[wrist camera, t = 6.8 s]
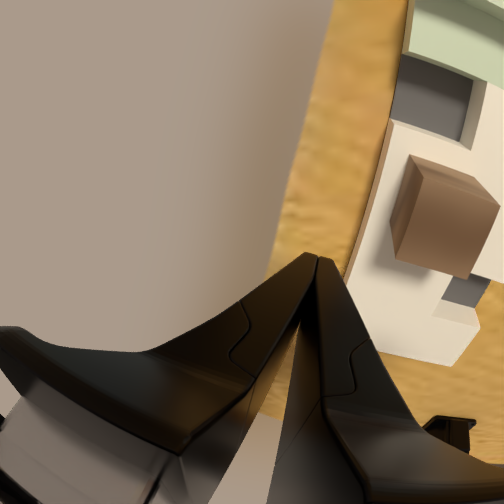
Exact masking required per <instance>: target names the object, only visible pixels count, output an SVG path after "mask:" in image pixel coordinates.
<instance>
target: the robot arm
mask: <svg viewBox="0 0 504 504" xmlns="http://www.w3.org/2000/svg"><path fill="white" fill-rule="evenodd" d="M299 323H300V324H299ZM298 326H299V328H298ZM297 328H298V334H297V341H296V347H295V354H294V361H293V367H292V373H291V379H290V385H289V391H288V397H287V403H286V409H285V414H284V420H283V425H282V431H281V436H280V441H279V446H278V451H277V456H276V462H275V467H274V471H273V475H272V480H271V485H270V489H269V494H268V499H267V503H266V504H504V468H500V467H496V466H493V465H490V464H488V463H485V462H483V461H481V460H479V459H477V458H475V457H473V456H471V455H469V451H470V437H469V430H470V429H471V428H472V427H474V426H475V425H476V420H472V419H462V418H452V417H444V416H436V417H434V418H433V419H432V420H431V421H430V422H429V423H428V424H427V425H425V426H424V427H423V428H422V427H421V426H420V425H419V424H418V423H417V421H416V420H415V418H414V417H413V415H412V413H411V412H410V410H409V408H408V406H407V405H406V403H405V401H404V399H403V398H402V396H401V394H400V392H399V391H398V389H397V387H396V386H395V384H394V382H393V380H392V379H391V377H390V375H389V373H388V371H387V370H386V368H385V366H384V364H383V362H382V360H381V358H380V356H379V354H378V352H377V350H376V348H375V346H374V343H373V341H372V339H370V335H369V333H368V331H367V328H366V326H365V324H364V322H363V320H362V318H361V316H360V314H359V311H358V309H357V307H356V305H355V303H354V301H353V299H352V297H351V295H350V293H349V291H348V289H347V287H346V285H345V283H344V281H343V279H342V277H341V275H340V273H339V271H338V269H337V267H336V265H335V263H334V261H333V260H332V259H330V258H326V257H322V256H320V257H319V258H318V256H317V255H315V254H311V253H308V252H304V253H303V254H301V255H300V256H299V257H297V258H296V259H295V260H293V261H292V262H291V263H289V264H288V265H287V266H285V267H284V268H283V269H281V270H280V271H278V272H277V273H276V274H274V275H273V276H272V277H270V278H269V279H268V280H266V281H265V282H264V283H262V284H261V285H259V286H258V287H257V288H255V289H254V290H253V291H251V292H250V293H249V294H247V295H246V296H244V297H243V298H242V299H240V300H239V302H236V303H235V304H233V305H232V306H230V307H229V308H228V309H226V310H225V311H223V312H221V313H220V314H219V315H217V316H215V317H214V318H212V319H210V320H208V321H206V322H205V323H203V324H201V325H199V326H197V327H195V328H194V329H192V330H190V331H188V332H186V333H184V334H182V335H180V336H178V337H176V338H174V339H172V340H170V341H168V342H166V343H164V344H162V345H160V346H158V347H156V348H153V349H150V350H147V351H142V352H118V351H103V350H91V349H79V348H69V347H63V346H57V345H54V344H50V343H48V342H45V341H43V340H41V339H39V338H37V337H36V336H34V335H33V334H31V333H30V332H28V331H27V330H25V329H23V328H21V327H17V326H0V369H1V370H2V371H3V373H4V374H5V376H6V377H7V378H8V379H9V381H10V382H11V383H12V385H13V386H14V387H15V388H16V390H17V391H18V392H19V393H20V395H21V396H22V397H21V398H20V399H19V400H18V402H17V403H16V404H15V406H14V407H13V408H12V410H11V411H10V413H9V414H8V415H7V417H6V418H4V417H3V416H2V415H1V414H0V504H208V502H209V500H210V499H211V497H212V495H213V494H214V492H215V490H216V488H217V487H218V485H219V483H220V481H221V480H222V478H223V476H224V474H225V473H226V471H227V469H228V467H229V465H230V464H231V462H232V460H233V458H234V456H235V454H236V453H237V451H238V449H239V447H240V445H241V443H242V442H243V440H244V438H245V436H246V434H247V432H248V430H249V428H250V426H251V424H252V423H253V420H254V419H255V417H256V415H257V413H258V411H259V409H260V407H261V405H262V403H263V401H264V399H265V397H266V395H267V393H268V391H269V389H270V387H271V385H272V383H273V381H274V378H275V376H276V374H277V372H278V370H279V368H280V366H281V364H282V362H283V360H284V357H285V355H286V353H287V351H288V349H289V347H290V344H291V342H292V340H293V338H294V336H295V333H296V331H297Z"/></svg>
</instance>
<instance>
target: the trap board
mask: <svg viewBox="0 0 504 504" xmlns="http://www.w3.org/2000/svg"><path fill="white" fill-rule="evenodd" d="M409 154H411V155H414V156H417V157H420V158H423V159H426V160H429V161H432V162H435V163H438V164H441V165H444V166H447V167H449V168H452V169H455V170H457V171H460V172H463V173H465V174H468V175H470V176H473V177H475V179H476V180H477V181H478V182H479V183H480V184H481V185H482V186H483V187H484V188H485V189H486V190H487V191H488V192H489V193H490V195H491V196H492V197H493V198H494V199H495V200H496V201H497V202H498V204H499V205H500V206H501V207H500V209H499V212H498V214H497V217H496V219H495V222H494V224H493V226H492V229H491V231H490V233H489V236H488V238H487V240H486V242H485V244H484V247H483V249H482V251H481V253H480V255H479V257H478V259H477V261H476V263H475V265H474V267H473V269H472V271H471V273H470V275H469V277H468V279H467V280H466V279H462V278H459V277H456V276H452V275H449V274H445V273H442V272H438V271H435V270H432V269H428V268H425V267H421V266H418V265H414V264H410V263H407V262H403V261H400V260H396V259H395V254H394V247H393V240H392V234H391V228H390V222H389V221H390V218H391V215H392V211H393V208H394V205H395V202H396V199H397V196H398V192H399V189H400V186H401V182H402V179H403V175H404V172H405V168H406V165H407V161H408V157H409ZM491 280H494V281H497V282H500V283H504V0H409V2H408V11H407V19H406V27H405V34H404V41H403V48H402V54H401V60H400V66H399V72H398V77H397V83H396V88H395V93H394V98H393V103H392V108H391V112H390V117H389V121H388V126H387V130H386V135H385V139H384V143H383V147H382V151H381V155H380V159H379V163H378V167H377V171H376V175H375V178H374V182H373V186H372V189H371V193H370V197H369V200H368V204H367V207H366V210H365V214H364V217H363V220H362V224H361V227H360V230H359V233H358V237H357V240H356V243H355V246H354V249H353V252H352V255H351V258H350V261H349V264H348V267H347V270H346V273H345V276H344V279H343V281H344V283H345V285H346V287H347V289H348V291H349V293H350V295H351V297H352V299H353V301H354V303H355V305H356V307H357V309H358V311H359V314H360V316H361V318H362V320H363V322H364V324H365V326H366V328H367V331H368V333H369V335H370V339H372V341H373V343H374V346H375V348H376V350H377V351H380V352H384V353H388V354H393V355H397V356H402V357H406V358H411V359H416V360H420V361H425V362H430V363H435V364H440V365H445V366H450V367H452V365H453V364H454V363H455V362H456V360H457V359H458V358H459V357H460V355H461V354H462V353H463V351H464V350H465V349H466V347H467V346H468V345H469V343H470V342H471V341H472V339H473V338H474V336H475V335H476V334H477V332H478V331H479V329H480V325H479V321H478V318H477V315H476V312H475V309H474V308H475V307H476V305H477V303H478V302H479V300H480V298H481V297H482V295H483V293H484V292H485V290H486V288H487V286H488V285H489V283H490V281H491Z"/></svg>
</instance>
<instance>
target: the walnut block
mask: <svg viewBox="0 0 504 504" xmlns="http://www.w3.org/2000/svg"><path fill="white" fill-rule="evenodd" d="M500 207H501V206H500V205H499V204H498V202H497V201H496V200H495V199H494V198H493V197H492V196H491V195H490V193H489V192H488V191H487V190H486V189H485V188H484V187H483V186H482V185H481V184H480V183H479V182H478V181H477V180H476V179H475V177H473V176H470V175H468V174H465V173H463V172H460V171H457V170H455V169H452V168H449V167H447V166H444V165H441V164H438V163H435V162H432V161H429V160H426V159H423V158H420V157H417V156H414V155H411V154H409V157H408V161H407V165H406V168H405V172H404V175H403V179H402V182H401V186H400V189H399V192H398V196H397V199H396V202H395V205H394V208H393V211H392V215H391V218H390V221H389V222H390V228H391V234H392V240H393V247H394V254H395V259H396V260H400V261H403V262H407V263H410V264H414V265H418V266H421V267H425V268H428V269H432V270H435V271H438V272H442V273H445V274H449V275H452V276H456V277H459V278H462V279H466V280H467V279H468V277H469V275H470V273H471V271H472V269H473V267H474V265H475V263H476V261H477V259H478V257H479V255H480V253H481V251H482V249H483V247H484V244H485V242H486V240H487V238H488V236H489V233H490V231H491V229H492V226H493V224H494V222H495V219H496V217H497V214H498V212H499V209H500Z"/></svg>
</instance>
